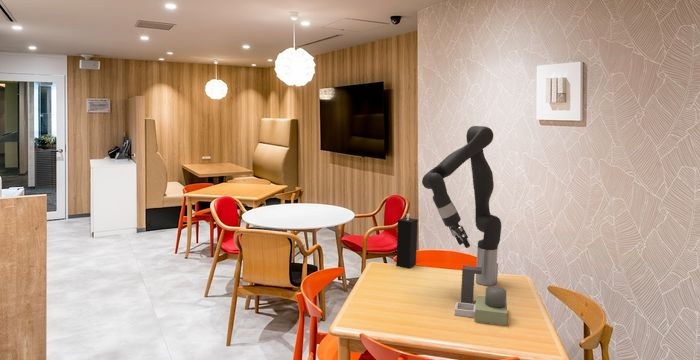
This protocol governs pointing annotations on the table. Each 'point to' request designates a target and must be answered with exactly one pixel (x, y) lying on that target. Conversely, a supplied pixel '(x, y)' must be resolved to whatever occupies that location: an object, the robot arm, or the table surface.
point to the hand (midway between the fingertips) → (464, 245)
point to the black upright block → (406, 242)
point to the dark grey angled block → (468, 283)
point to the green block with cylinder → (486, 307)
